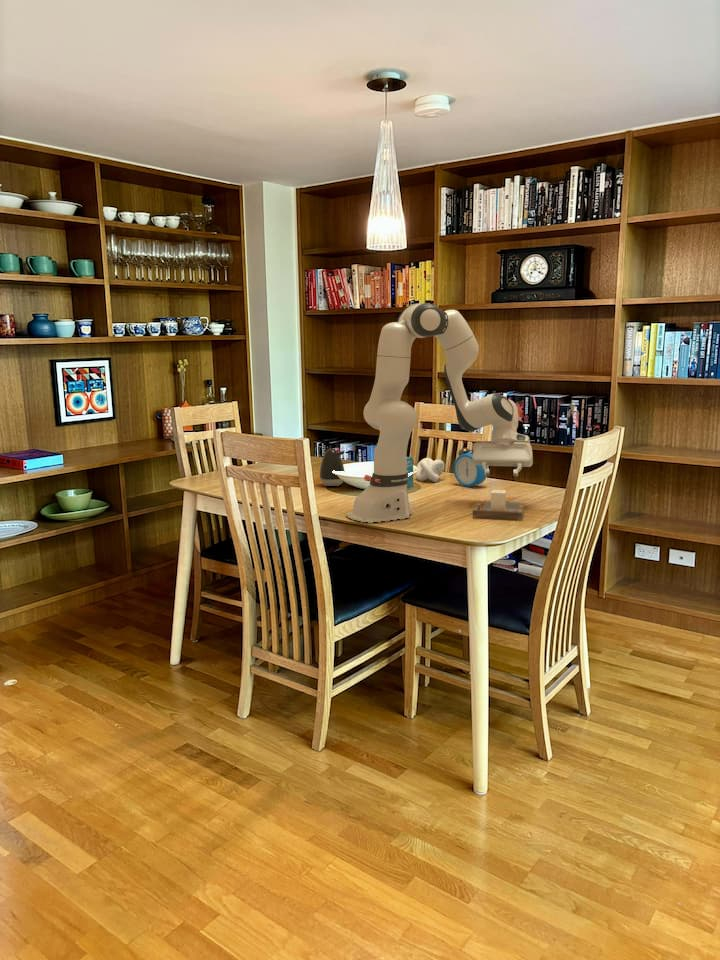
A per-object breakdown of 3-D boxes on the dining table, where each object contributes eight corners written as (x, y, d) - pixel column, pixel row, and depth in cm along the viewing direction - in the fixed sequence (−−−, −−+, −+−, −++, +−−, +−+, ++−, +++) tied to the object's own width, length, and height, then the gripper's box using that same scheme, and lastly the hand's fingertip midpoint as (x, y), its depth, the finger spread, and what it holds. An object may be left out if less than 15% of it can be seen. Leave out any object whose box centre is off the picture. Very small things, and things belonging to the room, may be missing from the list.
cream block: (504, 517, 238) (505, 493, 237) (490, 516, 239) (491, 492, 238) (505, 514, 242) (506, 490, 241) (491, 513, 244) (492, 489, 242)
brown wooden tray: (521, 525, 234) (521, 512, 234) (472, 522, 238) (472, 510, 238) (523, 516, 245) (523, 504, 245) (476, 514, 249) (476, 502, 249)
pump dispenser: (342, 488, 294) (341, 450, 291) (317, 487, 296) (315, 450, 293) (348, 483, 304) (347, 446, 301) (323, 482, 306) (322, 446, 303)
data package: (398, 491, 286) (398, 461, 284) (388, 490, 288) (388, 460, 286) (413, 486, 296) (413, 456, 293) (403, 485, 298) (403, 455, 296)
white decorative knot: (443, 483, 299) (444, 462, 297) (414, 483, 301) (414, 462, 299) (444, 478, 310) (444, 457, 308) (415, 478, 312) (415, 457, 310)
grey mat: (518, 515, 247) (518, 510, 246) (481, 513, 250) (481, 509, 250) (520, 506, 258) (520, 502, 258) (485, 505, 261) (485, 501, 261)
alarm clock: (452, 484, 297) (452, 447, 294) (462, 482, 301) (462, 446, 298) (478, 489, 287) (479, 451, 284) (488, 486, 292) (489, 449, 289)
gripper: (472, 435, 254) (469, 468, 247) (533, 436, 249) (531, 470, 242) (474, 446, 260) (470, 479, 252) (533, 447, 254) (532, 481, 247)
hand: (501, 475), depth 247 cm, fingers open, 8 cm apart
